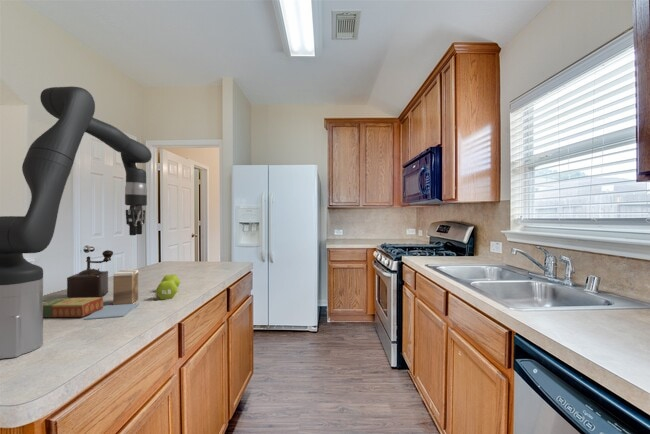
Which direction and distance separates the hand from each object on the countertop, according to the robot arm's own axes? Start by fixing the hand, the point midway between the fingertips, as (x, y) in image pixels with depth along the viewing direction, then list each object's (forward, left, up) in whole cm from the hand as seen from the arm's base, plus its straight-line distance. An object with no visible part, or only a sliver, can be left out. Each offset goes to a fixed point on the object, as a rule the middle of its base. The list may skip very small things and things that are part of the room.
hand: (135, 234), depth 115 cm
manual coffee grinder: (+6, +18, -26) cm, 32 cm away
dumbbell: (-1, -12, -26) cm, 29 cm away
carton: (-18, +13, -25) cm, 34 cm away
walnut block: (-9, 0, -26) cm, 27 cm away
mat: (-19, 0, -26) cm, 32 cm away
